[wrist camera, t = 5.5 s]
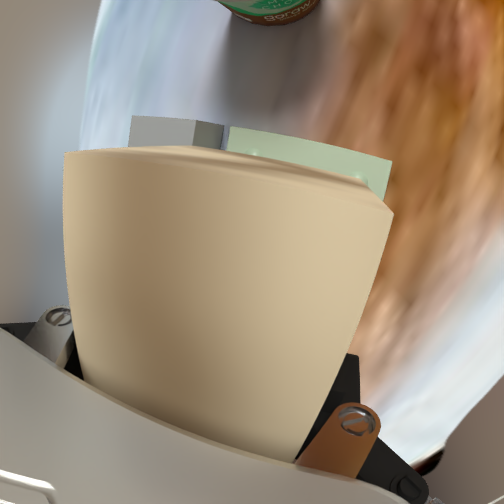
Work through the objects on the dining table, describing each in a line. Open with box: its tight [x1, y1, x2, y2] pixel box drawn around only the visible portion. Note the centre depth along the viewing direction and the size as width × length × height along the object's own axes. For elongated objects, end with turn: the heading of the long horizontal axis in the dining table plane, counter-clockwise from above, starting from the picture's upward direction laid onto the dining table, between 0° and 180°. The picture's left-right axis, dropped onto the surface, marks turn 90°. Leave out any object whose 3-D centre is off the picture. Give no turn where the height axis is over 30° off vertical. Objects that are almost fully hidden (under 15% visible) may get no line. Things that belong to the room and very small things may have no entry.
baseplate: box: [226, 126, 392, 202], centre depth 27 cm, size 14×14×1 cm
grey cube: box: [128, 116, 224, 150], centre depth 26 cm, size 6×6×6 cm
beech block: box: [63, 146, 394, 464], centre depth 9 cm, size 6×12×6 cm, turn 170°
